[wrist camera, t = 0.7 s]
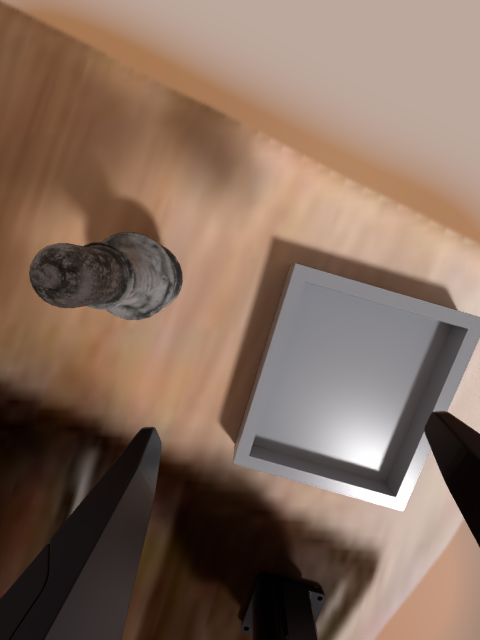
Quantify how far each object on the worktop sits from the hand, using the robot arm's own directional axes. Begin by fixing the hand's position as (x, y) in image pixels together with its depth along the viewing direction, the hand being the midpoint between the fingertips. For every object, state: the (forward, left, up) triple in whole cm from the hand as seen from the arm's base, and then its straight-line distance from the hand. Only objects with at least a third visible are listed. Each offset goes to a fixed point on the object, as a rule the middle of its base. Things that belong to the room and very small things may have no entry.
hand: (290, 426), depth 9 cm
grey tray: (-2, -7, -13) cm, 15 cm away
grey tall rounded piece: (+2, +10, -14) cm, 17 cm away
